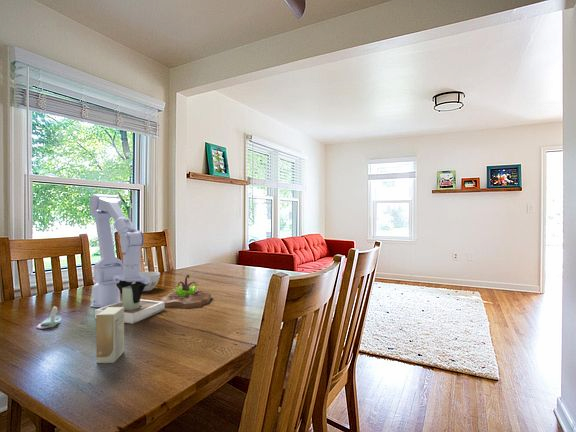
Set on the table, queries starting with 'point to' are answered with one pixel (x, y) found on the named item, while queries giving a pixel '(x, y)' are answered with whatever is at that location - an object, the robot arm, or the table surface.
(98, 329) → the skincare box
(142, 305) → the hole plate
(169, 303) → the plant
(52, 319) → the pacifier
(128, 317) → the tray
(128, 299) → the peg
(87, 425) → the table surface
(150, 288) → the teacup
